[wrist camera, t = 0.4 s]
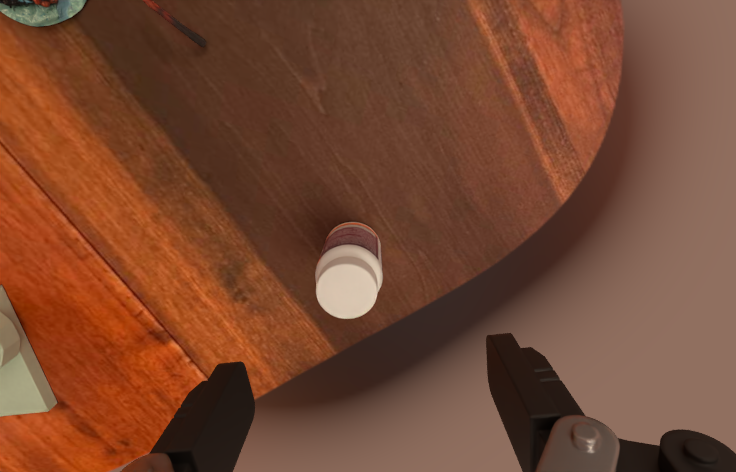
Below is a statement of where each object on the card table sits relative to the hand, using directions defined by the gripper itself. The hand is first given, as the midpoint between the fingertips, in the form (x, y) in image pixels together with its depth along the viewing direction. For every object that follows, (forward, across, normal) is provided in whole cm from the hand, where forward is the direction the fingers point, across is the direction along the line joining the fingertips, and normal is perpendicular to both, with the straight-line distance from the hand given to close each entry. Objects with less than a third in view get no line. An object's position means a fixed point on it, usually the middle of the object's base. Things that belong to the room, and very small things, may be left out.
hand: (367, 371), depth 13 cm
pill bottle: (+20, -2, -3) cm, 21 cm away
